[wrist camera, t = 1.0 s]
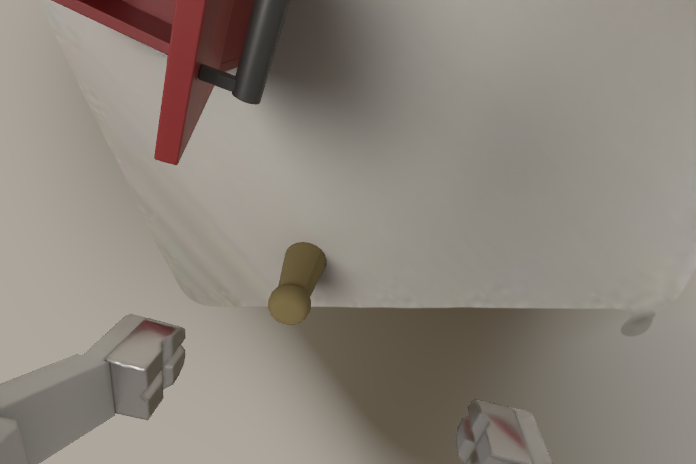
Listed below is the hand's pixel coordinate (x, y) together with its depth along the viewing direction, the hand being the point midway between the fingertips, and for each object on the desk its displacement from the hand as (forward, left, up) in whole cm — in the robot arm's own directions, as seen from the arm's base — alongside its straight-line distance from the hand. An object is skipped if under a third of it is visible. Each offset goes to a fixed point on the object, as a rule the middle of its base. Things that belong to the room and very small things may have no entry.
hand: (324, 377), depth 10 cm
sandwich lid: (-13, -5, -19) cm, 24 cm away
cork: (+16, -18, -35) cm, 43 cm away
